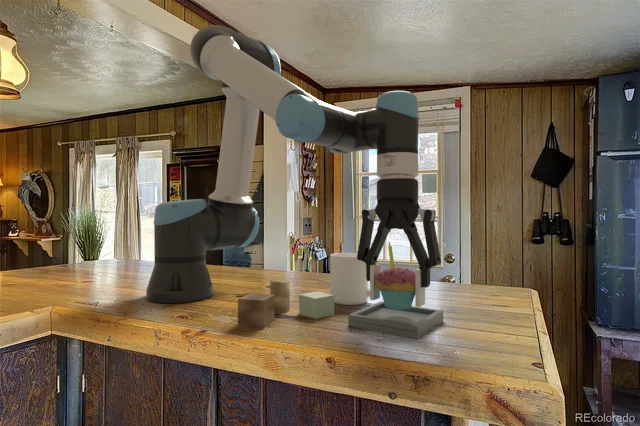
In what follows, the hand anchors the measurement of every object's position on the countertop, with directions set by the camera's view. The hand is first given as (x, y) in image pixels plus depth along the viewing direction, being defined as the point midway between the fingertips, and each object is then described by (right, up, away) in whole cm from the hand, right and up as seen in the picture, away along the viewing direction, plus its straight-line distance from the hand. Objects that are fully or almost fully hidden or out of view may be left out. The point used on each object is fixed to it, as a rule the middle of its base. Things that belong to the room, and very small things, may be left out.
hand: (396, 301), depth 73 cm
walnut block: (-26, -4, 0) cm, 26 cm away
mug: (-6, -4, +18) cm, 19 cm away
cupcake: (0, -1, 0) cm, 1 cm away
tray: (0, -4, 0) cm, 4 cm away
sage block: (-15, -4, +7) cm, 17 cm away
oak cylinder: (-22, -4, +10) cm, 25 cm away
